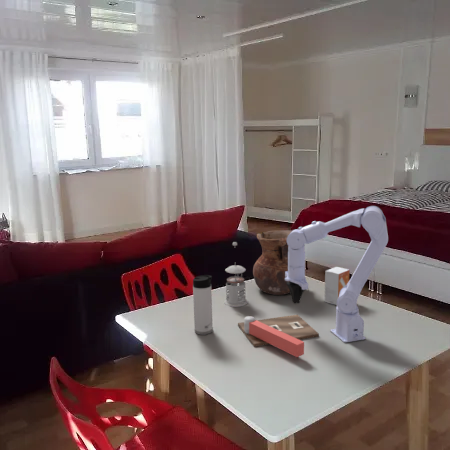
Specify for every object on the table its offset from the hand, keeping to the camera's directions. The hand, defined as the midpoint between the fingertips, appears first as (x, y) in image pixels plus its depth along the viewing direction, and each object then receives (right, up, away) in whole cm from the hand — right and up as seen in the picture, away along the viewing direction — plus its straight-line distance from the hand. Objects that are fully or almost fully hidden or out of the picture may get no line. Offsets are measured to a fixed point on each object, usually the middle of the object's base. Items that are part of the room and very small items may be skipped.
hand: (296, 302), depth 158 cm
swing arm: (-10, -11, -11) cm, 18 cm away
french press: (-20, -4, +28) cm, 35 cm away
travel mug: (-32, -10, +1) cm, 33 cm away
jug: (-2, -1, +40) cm, 40 cm away
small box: (+20, -4, +26) cm, 33 cm away
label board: (-7, -10, 0) cm, 12 cm away
